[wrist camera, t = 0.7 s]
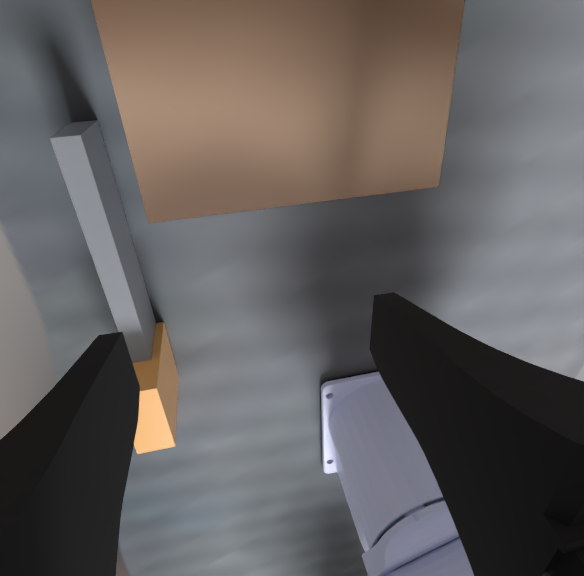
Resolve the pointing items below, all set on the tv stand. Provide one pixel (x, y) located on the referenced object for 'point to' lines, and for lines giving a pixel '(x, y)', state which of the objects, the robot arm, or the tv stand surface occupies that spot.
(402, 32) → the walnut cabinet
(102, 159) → the grey handled mallet
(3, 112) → the tv stand surface
